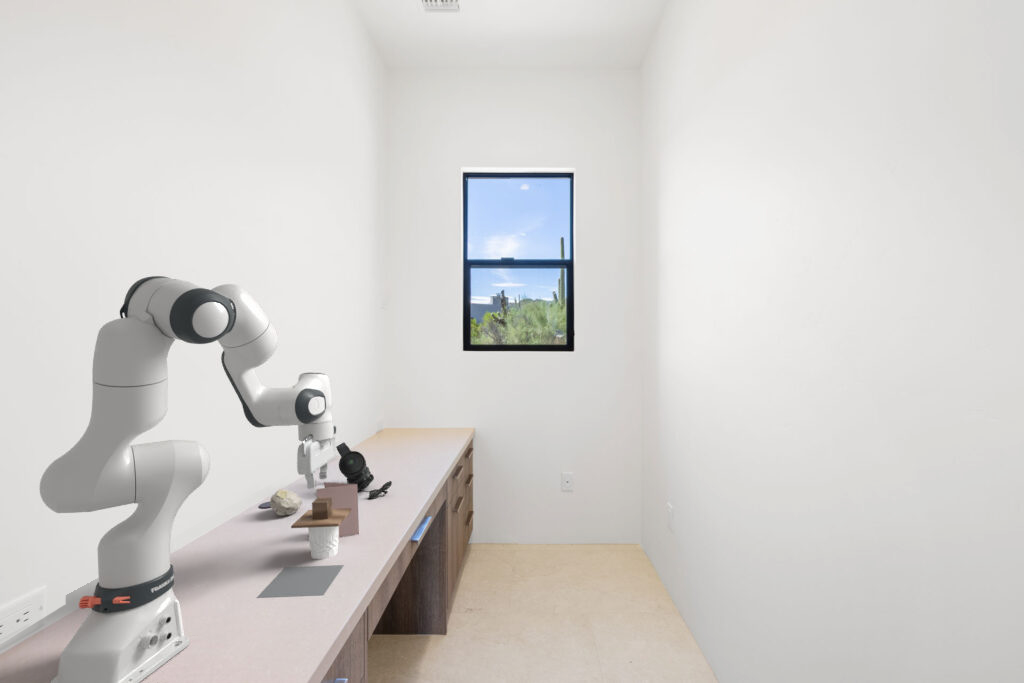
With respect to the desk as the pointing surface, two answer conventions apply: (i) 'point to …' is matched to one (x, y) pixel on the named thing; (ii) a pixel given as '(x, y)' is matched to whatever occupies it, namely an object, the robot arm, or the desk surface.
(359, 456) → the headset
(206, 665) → the desk surface
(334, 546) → the white cup
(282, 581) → the rubber mat
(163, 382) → the robot arm
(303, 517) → the walnut lid
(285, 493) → the fossil replica
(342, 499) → the greeting card
